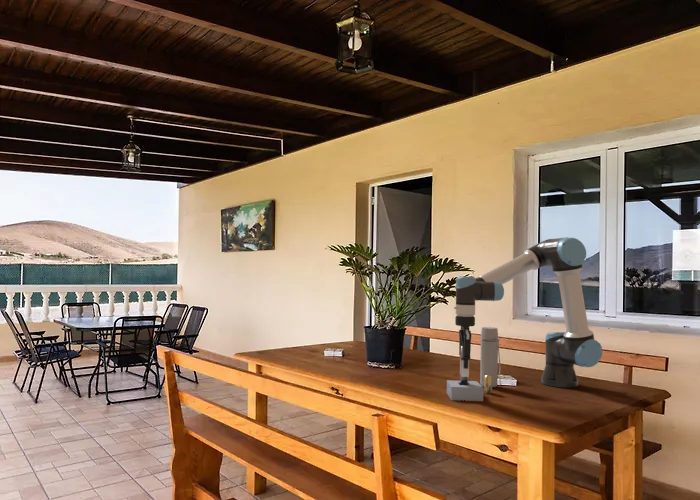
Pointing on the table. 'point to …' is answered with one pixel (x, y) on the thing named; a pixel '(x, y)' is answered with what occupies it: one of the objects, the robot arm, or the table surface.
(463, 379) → the long pin
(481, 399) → the socket block
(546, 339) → the robot arm
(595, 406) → the table surface
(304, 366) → the table surface
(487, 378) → the short pin
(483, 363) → the water bottle
